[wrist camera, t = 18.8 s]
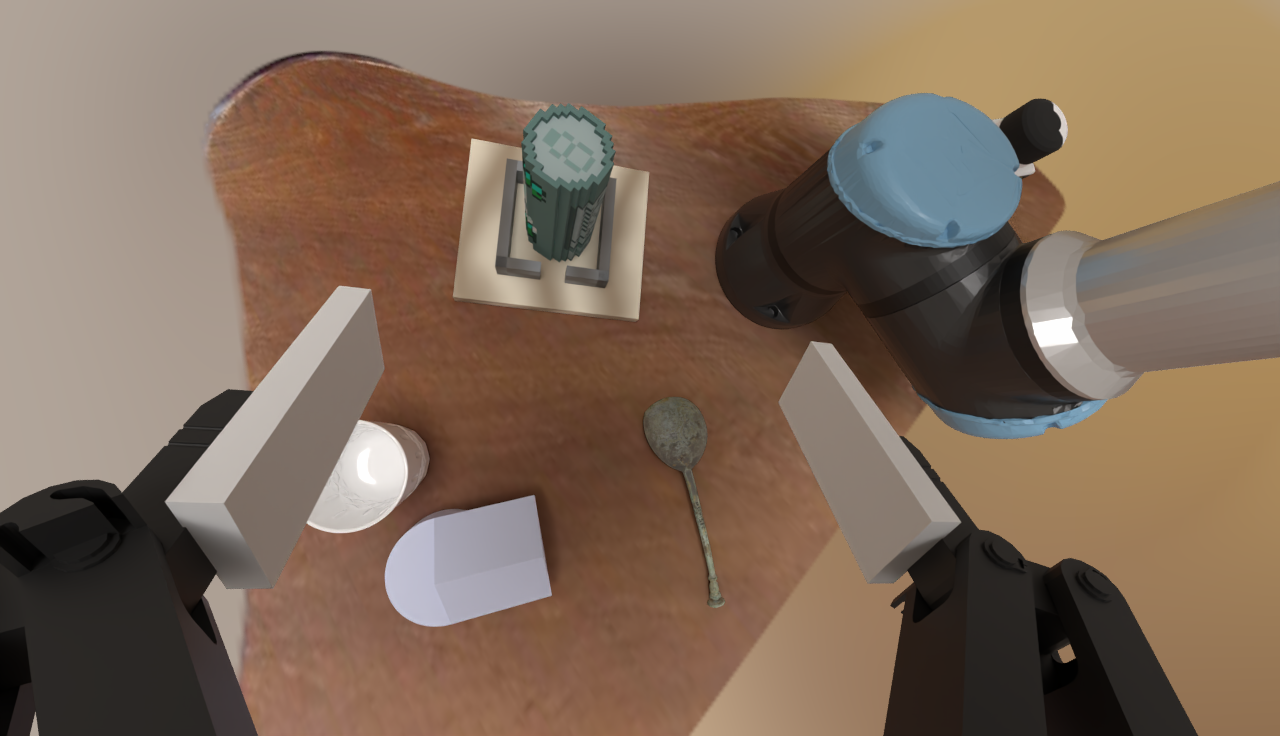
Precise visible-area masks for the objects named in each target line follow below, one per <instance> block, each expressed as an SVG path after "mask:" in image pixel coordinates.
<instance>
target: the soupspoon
mask: <svg viewBox="0 0 1280 736" xmlns="http://www.w3.org/2000/svg"><path fill="white" fill-rule="evenodd" d="M643 422H644V423H643V424H644V431H645V435H646V438H647V441H648V443H649V445H650V447H651V448H652V450H653V451H654V452H655V454H656V455H657V456H658V457H659V458H660V459H661V460H662V461H663V462H664V463H665V464H667V465H668V466H670V467H672V468H674V469H676V470H679V471H682V472H683V475H684V478H685V480H686V484H687V488H688V491H689V495H690V498H691V502H692V506H693V509H694V514H695V518H696V521H697V525H698V529H699V532H700V537H701V540H702V544H703V549H704V553H705V558H706V562H707V566H708V570H709V576H708V579H709V580H710V586H709V589H710V592H711V593H710V598H711V599H709V600H708V602H707V603H708V605H709V606H710V607H713V608H716V607H720V606H722V605H724V603H725V600H724V599H723V598H722V597H721V594H720V592H719V587H718V583H717V582H716V580H717V576H716V575H715V570H714V564H713V559H712V553H711V549H710V544H709V540H708V536H707V531H706V527H705V523H704V519H703V515H702V510H701V506H700V501H699V497H698V493H697V488H696V485H695V481H694V477H693V473H692V468H693V467H694V466H695V465H696V464H697V463H698V461H699V460H700V458H701V457H702V455H703V452H704V450H705V447H706V443H707V427H706V424H705V421H704V418H703V416H702V414H701V412H700V410H699V409H698V408H697V407H696V406H695V405H694V404H693V403H692V402H690V401H689V400H687V399H685V398H681V397H668V398H664V399H661V400H659V401H657V402H656V403H654V404H653V405H651V406H650V407H649V408H648V409H647V410H646V412H645V413H644V421H643Z"/></svg>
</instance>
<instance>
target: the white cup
mask: <svg viewBox="0 0 1280 736" xmlns="http://www.w3.org/2000/svg"><path fill="white" fill-rule="evenodd" d="M429 461H430V457H429V453H428V449H427V446H426V443H425V442H424V441H423V439H422V438H421V437H420V436H419V435H418V434H417V433H416V432H415V431H413V430H411V429H408V428H406V427H403V426H401V425H396V424H391V423H385V422H379V421H367V420H358V422H357V424H356V426H355V428H354V430H353V432H352V434H351V436H350V438H349V440H348V442H347V444H346V446H345V448H344V450H343V452H342V454H341V456H340V458H339V460H338V462H337V464H336V466H335V468H334V470H333V472H332V474H331V476H330V478H329V480H328V482H327V483H326V485H325V487H324V489H323V491H322V493H321V495H320V497H319V499H318V501H317V503H316V505H315V507H314V509H313V511H312V513H311V515H310V517H309V519H308V521H307V524H308V525H310V526H312V527H314V528H316V529H319V530H322V531H326V532H332V533H349V532H355V531H359V530H362V529H365V528H368V527H370V526H372V525H374V524H376V523H377V522H379V521H381V520H382V519H383V518H385V517H386V516H387V515H388V514H389V513H390V512H392V511H393V510H394V509H395V508H396V507H397V506H399V505H400V504H401V503H402V502H403V501H404V500H405V499H406V498H407V497H408V496H409V495H410V494H411V493H412V492H413V491H414V490H415V489H416V488H417V486H418V485H419V484H420V482H421V481H422V480H423V479H424V477H425V476H426V474H427V469H428V465H429Z"/></svg>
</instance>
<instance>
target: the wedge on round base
mask: <svg viewBox="0 0 1280 736" xmlns="http://www.w3.org/2000/svg"><path fill="white" fill-rule="evenodd" d="M385 585H386V590H387V594H388V597H389V599H390V601H391V603H392V604H393V606H394V607H395V608H396V610H397V611H398V612H399V613H400V614H401V615H403V616H404V617H405V618H407V619H408V620H410V621H412V622H414V623H417V624H420V625H425V626H434V627H437V626H446V625H450V624H454V623H458V622H461V621H465V620H468V619H472V618H475V617H479V616H482V615H486V614H489V613H493V612H496V611H500V610H503V609H507V608H510V607H514V606H517V605H521V604H524V603H528V602H531V601H535V600H538V599H542V598H545V597H549V596H552V593H551V587H550V581H549V575H548V570H547V564H546V558H545V553H544V547H543V541H542V535H541V530H540V524H539V518H538V512H537V507H536V501H535V495H532V496H528V497H524V498H519V499H515V500H511V501H506V502H502V503H498V504H493V505H489V506H485V507H480V508H476V509H472V510H462V509H447V510H441V511H438V512H435V513H432V514H430V515H428V516H426V517H425V518H423V519H421V520H420V521H419V522H418V523H416V524H415V525H414V526H413V527H412V528H411V529H410V530H409V531H407V532H406V533H405V534H404V535H403V536H402V537H401V538H400V540H399V541H398V542H397V543H396V545H395V546H394V548H393V550H392V551H391V554H390V556H389V558H388V561H387V565H386V570H385Z"/></svg>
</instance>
